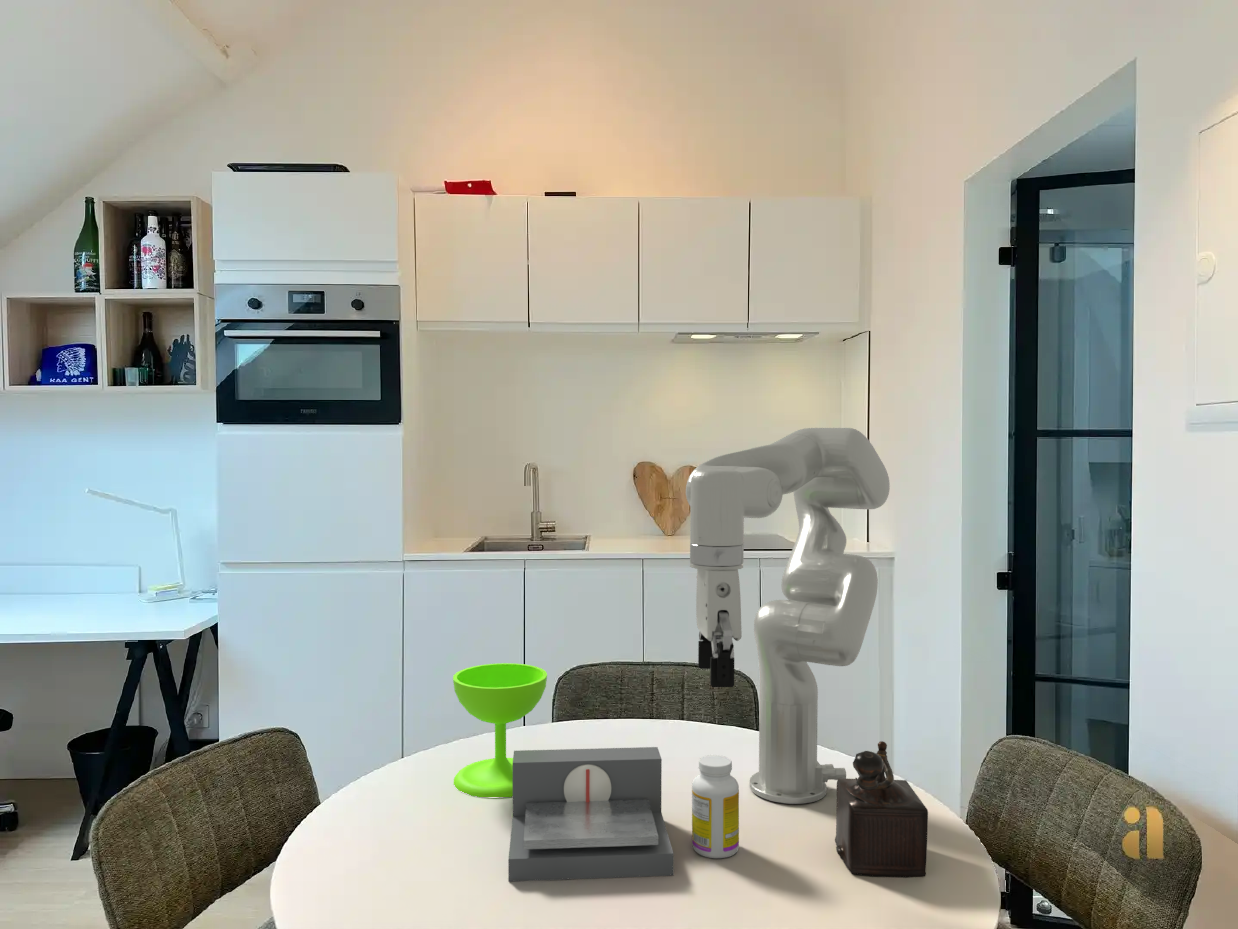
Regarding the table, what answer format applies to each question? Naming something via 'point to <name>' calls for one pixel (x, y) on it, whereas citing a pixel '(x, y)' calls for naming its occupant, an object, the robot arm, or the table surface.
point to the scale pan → (589, 824)
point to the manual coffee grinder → (880, 821)
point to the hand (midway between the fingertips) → (715, 677)
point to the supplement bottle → (715, 808)
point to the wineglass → (496, 718)
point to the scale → (587, 780)
